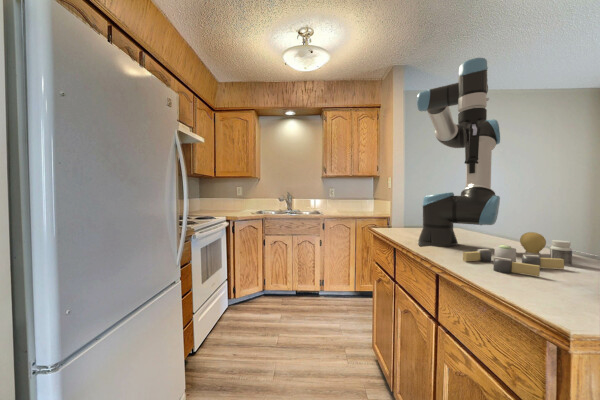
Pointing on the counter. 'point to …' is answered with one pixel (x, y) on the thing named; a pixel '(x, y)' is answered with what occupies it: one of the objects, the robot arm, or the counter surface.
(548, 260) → the knob
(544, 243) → the light bulb
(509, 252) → the tribrach plate
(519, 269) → the knob
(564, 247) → the pill bottle
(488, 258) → the knob
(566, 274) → the counter surface
